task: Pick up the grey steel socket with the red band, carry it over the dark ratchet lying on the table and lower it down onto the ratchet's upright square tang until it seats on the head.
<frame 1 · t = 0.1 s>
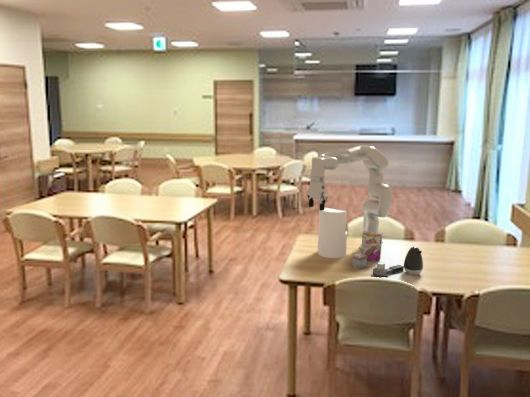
hand: (316, 208, 287), 31 cm above the table, fingers open, 9 cm apart
dark brown rounded piece: (412, 273, 275), on the table
cylinder: (331, 253, 306), on the table
ratchet: (380, 275, 271), on the table
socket: (359, 266, 284), on the table
candy bar box: (370, 259, 297), on the table
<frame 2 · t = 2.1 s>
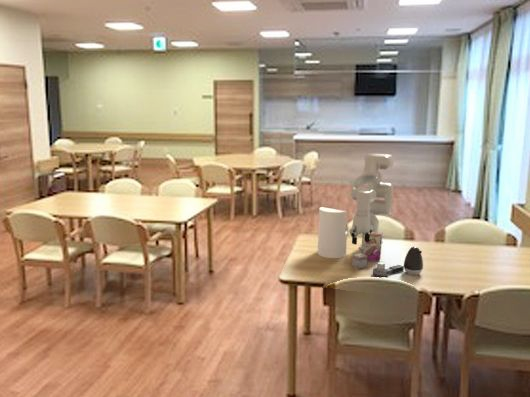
hand: (360, 242, 281), 14 cm above the table, fingers open, 9 cm apart
nothing on the table moved.
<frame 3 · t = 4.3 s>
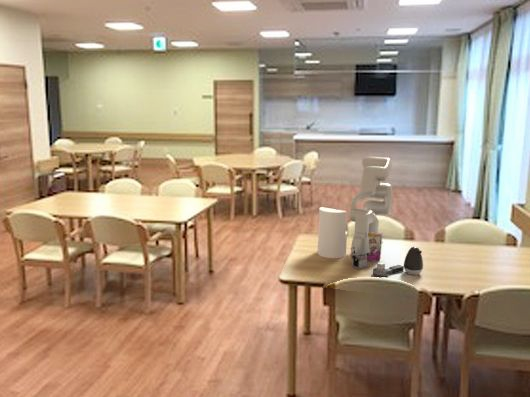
hand: (359, 265, 284), 1 cm above the table, fingers closed on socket, 5 cm apart
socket: (359, 266, 284), on the table, touching gripper
everything else where it was.
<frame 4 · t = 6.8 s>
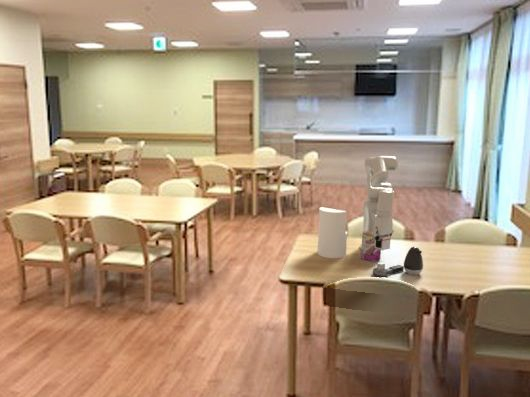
hand: (382, 246, 267), 17 cm above the table, fingers closed on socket, 5 cm apart
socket: (382, 248, 268), point 16 cm above the table, touching gripper
everything else where it was.
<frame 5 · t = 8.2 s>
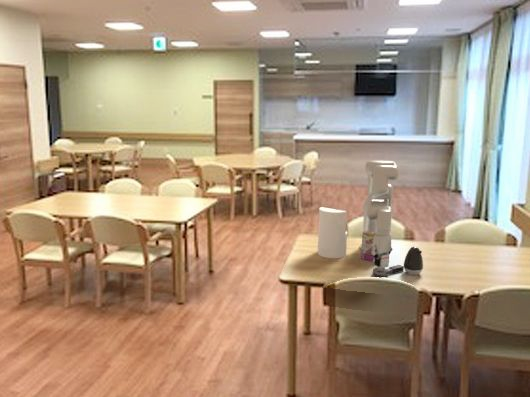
hand: (381, 264, 270), 6 cm above the table, fingers closed on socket, 5 cm apart
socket: (380, 266, 270), point 5 cm above the table, touching gripper
everything else where it was.
when the fingers open (5 cm above the table, at t = 9.3 s): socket stays where it is, resting on ratchet.
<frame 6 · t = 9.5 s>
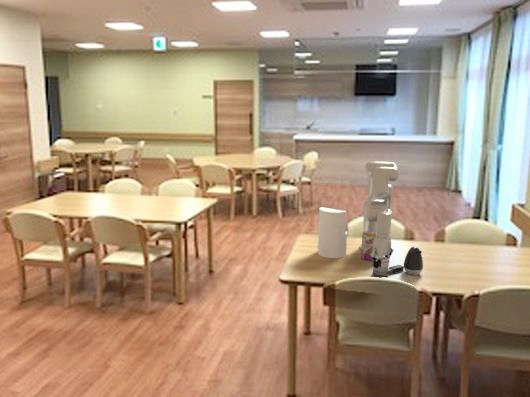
hand: (380, 266, 270), 5 cm above the table, fingers open, 7 cm apart
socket: (380, 270, 270), point 3 cm above the table, touching ratchet
everything else where it was.
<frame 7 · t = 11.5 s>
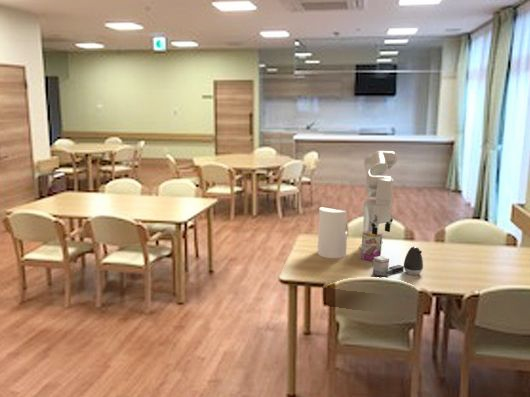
hand: (380, 232, 269), 23 cm above the table, fingers open, 9 cm apart
nothing on the table moved.
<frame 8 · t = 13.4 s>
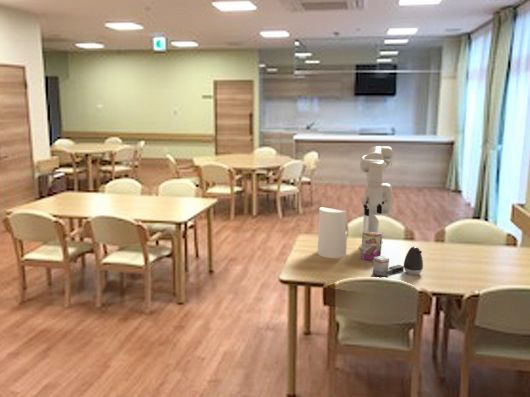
hand: (372, 214, 279), 30 cm above the table, fingers open, 9 cm apart
nothing on the table moved.
at the end: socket 0.1 cm off-centre on the ratchet, point 3.0 cm above the ratchet's base; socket tilted 0°; the gripper is holding nothing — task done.
